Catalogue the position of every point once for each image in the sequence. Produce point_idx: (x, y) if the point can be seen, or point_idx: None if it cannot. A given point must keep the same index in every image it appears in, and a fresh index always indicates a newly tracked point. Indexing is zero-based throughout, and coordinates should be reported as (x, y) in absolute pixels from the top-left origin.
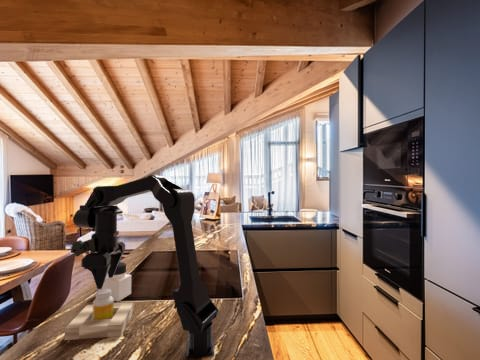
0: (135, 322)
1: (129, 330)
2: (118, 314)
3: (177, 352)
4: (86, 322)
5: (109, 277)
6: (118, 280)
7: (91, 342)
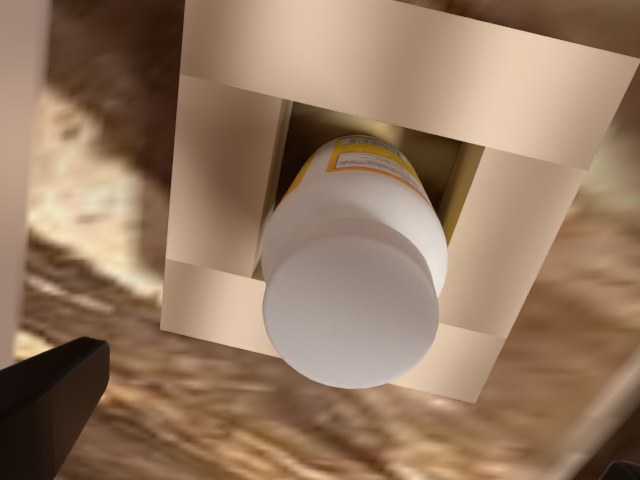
0: None
1: None
2: None
3: None
4: (250, 115)
5: (612, 466)
6: None
7: (155, 154)
